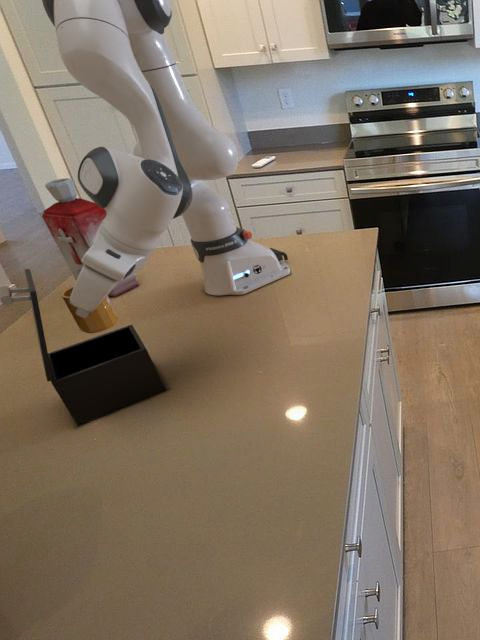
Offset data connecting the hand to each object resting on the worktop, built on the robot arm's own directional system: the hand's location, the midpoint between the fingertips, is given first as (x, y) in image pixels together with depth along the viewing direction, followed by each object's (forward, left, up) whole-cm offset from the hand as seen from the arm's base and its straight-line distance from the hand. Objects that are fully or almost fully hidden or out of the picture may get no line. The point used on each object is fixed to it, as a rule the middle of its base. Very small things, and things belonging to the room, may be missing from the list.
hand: (90, 305), depth 105 cm
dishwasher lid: (+8, 0, 0) cm, 8 cm away
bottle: (-6, -61, -19) cm, 64 cm away
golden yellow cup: (0, 0, -4) cm, 4 cm away
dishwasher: (+3, 0, -18) cm, 19 cm away
